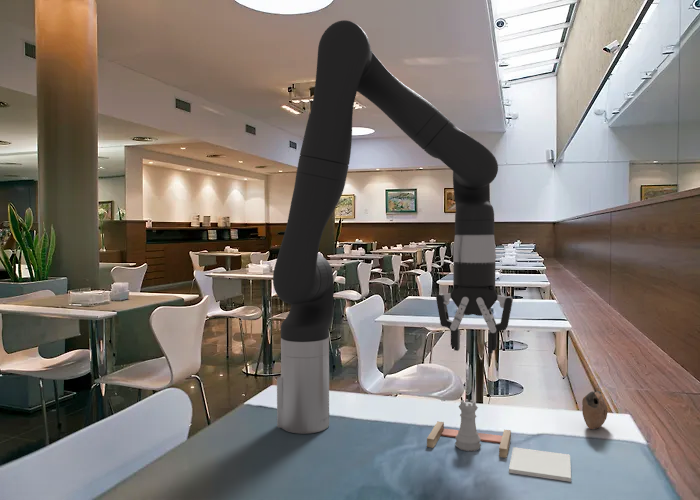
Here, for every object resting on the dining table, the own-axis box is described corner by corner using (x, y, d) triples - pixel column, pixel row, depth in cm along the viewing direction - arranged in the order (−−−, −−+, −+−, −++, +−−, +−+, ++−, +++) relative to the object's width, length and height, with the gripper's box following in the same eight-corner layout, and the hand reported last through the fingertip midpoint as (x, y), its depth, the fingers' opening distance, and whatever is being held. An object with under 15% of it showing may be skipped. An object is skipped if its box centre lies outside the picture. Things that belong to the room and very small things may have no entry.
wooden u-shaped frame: (426, 446, 96) (426, 438, 95) (437, 429, 104) (437, 421, 104) (506, 458, 91) (506, 449, 91) (510, 438, 99) (511, 430, 99)
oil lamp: (601, 439, 99) (602, 395, 98) (577, 435, 101) (578, 392, 100) (608, 424, 106) (609, 383, 106) (586, 420, 108) (587, 380, 108)
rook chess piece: (481, 453, 93) (481, 406, 93) (454, 451, 94) (454, 404, 93) (480, 443, 97) (480, 398, 97) (455, 441, 98) (455, 397, 98)
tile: (508, 472, 85) (508, 468, 85) (513, 450, 94) (513, 447, 94) (571, 481, 82) (571, 477, 82) (569, 458, 91) (569, 454, 91)
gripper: (431, 260, 99) (430, 352, 100) (513, 261, 94) (512, 359, 95) (439, 258, 106) (439, 344, 107) (516, 259, 101) (515, 350, 102)
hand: (473, 350), depth 101 cm, fingers open, 5 cm apart
